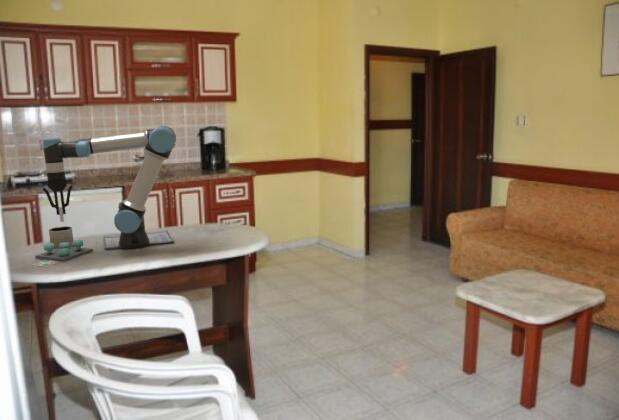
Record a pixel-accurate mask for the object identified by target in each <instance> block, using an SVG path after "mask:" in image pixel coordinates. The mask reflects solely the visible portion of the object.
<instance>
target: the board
mask: <svg viewBox="0 0 619 420" xmlns="http://www.w3.org/2000/svg"><path fill="white" fill-rule="evenodd" d="M59 249H60V248H57V249H53V250H52V252H51V253H47V251H45V252H42V253H39V254H36V255H34V259H36V260H42V261H44V260H51V261H59V263H61V262H62V263H65V262H68V261H71V260H73V259H77V258H80V257H82V256H85V255H87V254H91V253H93V252H94V249H93V248H88V247H81V249H76V247H73V246H72V247H70V248H68V249H69V255H67V256H65V257H63V256H59V252H58V250H59Z"/></svg>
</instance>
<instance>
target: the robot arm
mask: <svg viewBox="0 0 619 420" xmlns="http://www.w3.org/2000/svg"><path fill="white" fill-rule="evenodd" d="M176 142H177V135H176V133H175V131H174V130H173V129H172V128H171V127H170V126H166V125H162V126H161V125H160V126H157V127H154V128H150V129H149V128H148V129H145V131H141V132H135V133H134V132H133V133H132V132H131V133H126V134H118V135H117V134H116V135H108V136H102V137H101V136H100V137H93V138H92V137H91V138H81V139H78V140H72V141H62V140H61V138H60V137H46V138H44V139H43V140H42V149H43V156H44V160H45V169H46V172H47V173H46V177H47V183H46V186H44V187H42V191H43V192H44V193H45V195H46V197H47V200H48V201H49V204H50V206H51V208H54V209H55V211H56V215H57V216H59V220H60V223H64V222H65V219H64V218H65V217H64V215H66V212H67V211H66V207H68V206H69V205H70V199H71V192H72V191H71V190H72V189H73V184H69V183H68V181H67V180H66V172H65V171H64V170H65V165H64V159H71V158H72V159H74V158H75V159H76V158H82V159H83V158H88V157H90V156H91V155H93V154H101V153H102V154H103V153H111V152H119V151H128V150H129V151H130V150H136V149H144V151H145V153H146V154H145V155H144V158H143V161H141V162H142V163H141V165H140V168H139V170H138V172H137V174H136V177H135V179H134V182H133V184H132V186H131V188H130V191H129V194H128V196H127V198H126V199H123V200H122V201H120V202H119V203H118V210H117V212H116V214H115V215H114V219H113V220H114V222H113V223H114V227H115V228H116V229H117V231H119V232H120V235H119V241H118V248H119V249H123V250H136V249H141V248H146V247H148V246H149V245H150V244H151V243H150V238H149V236H148V234H147V231H146V228H145V227H146V225H145V213H146V211H147V209H146V203H147V200H148V198H149V197H150V193H151V191H152V189H153V186H154V184H155V183H156V179H157V177H158V175H159V173H160V171H161V169H162V165H163V164H164V161H166V160H168V159H169V158H170V155H171V153H172V150H173V149H174V147H175V144H176ZM65 189H67V193H66V199H64V192H63V191H65ZM49 190H51V191H52V192H53V195H54V196H53V197H54V201H53V199H52V196H51V194H50V192H49ZM58 192H59V195H60V203H61V207H60V205H59V199H58ZM54 203H55V204H54Z"/></svg>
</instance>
